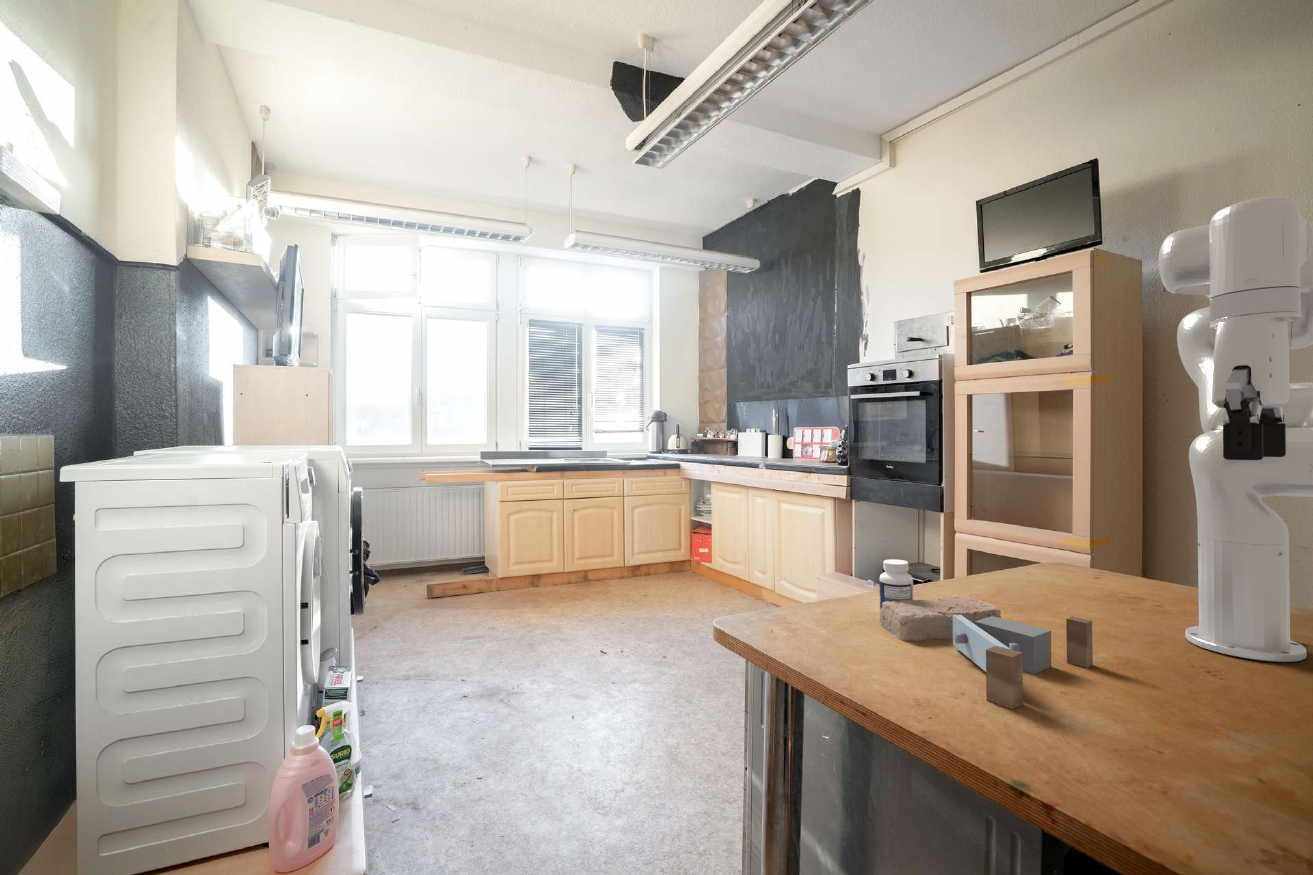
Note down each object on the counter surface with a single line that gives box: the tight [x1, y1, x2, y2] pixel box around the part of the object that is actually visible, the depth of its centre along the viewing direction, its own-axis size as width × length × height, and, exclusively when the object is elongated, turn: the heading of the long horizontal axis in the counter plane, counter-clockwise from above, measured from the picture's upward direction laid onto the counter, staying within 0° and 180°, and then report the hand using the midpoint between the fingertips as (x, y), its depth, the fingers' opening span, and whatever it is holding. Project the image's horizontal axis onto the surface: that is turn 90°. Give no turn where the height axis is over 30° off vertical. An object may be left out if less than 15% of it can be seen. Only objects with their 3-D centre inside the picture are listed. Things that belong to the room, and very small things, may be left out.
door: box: [952, 615, 1019, 673], centre depth 81 cm, size 17×2×6 cm, turn 176°
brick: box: [879, 595, 1002, 642], centre depth 98 cm, size 16×8×5 cm, turn 96°
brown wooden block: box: [985, 646, 1024, 710], centre depth 72 cm, size 2×3×6 cm
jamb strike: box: [1065, 616, 1094, 668], centre depth 83 cm, size 2×2×6 cm
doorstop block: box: [974, 616, 1052, 675], centre depth 85 cm, size 4×8×5 cm, turn 31°
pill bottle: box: [879, 559, 914, 610], centre depth 105 cm, size 5×5×10 cm
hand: (1255, 458), depth 71 cm, fingers open, 9 cm apart
